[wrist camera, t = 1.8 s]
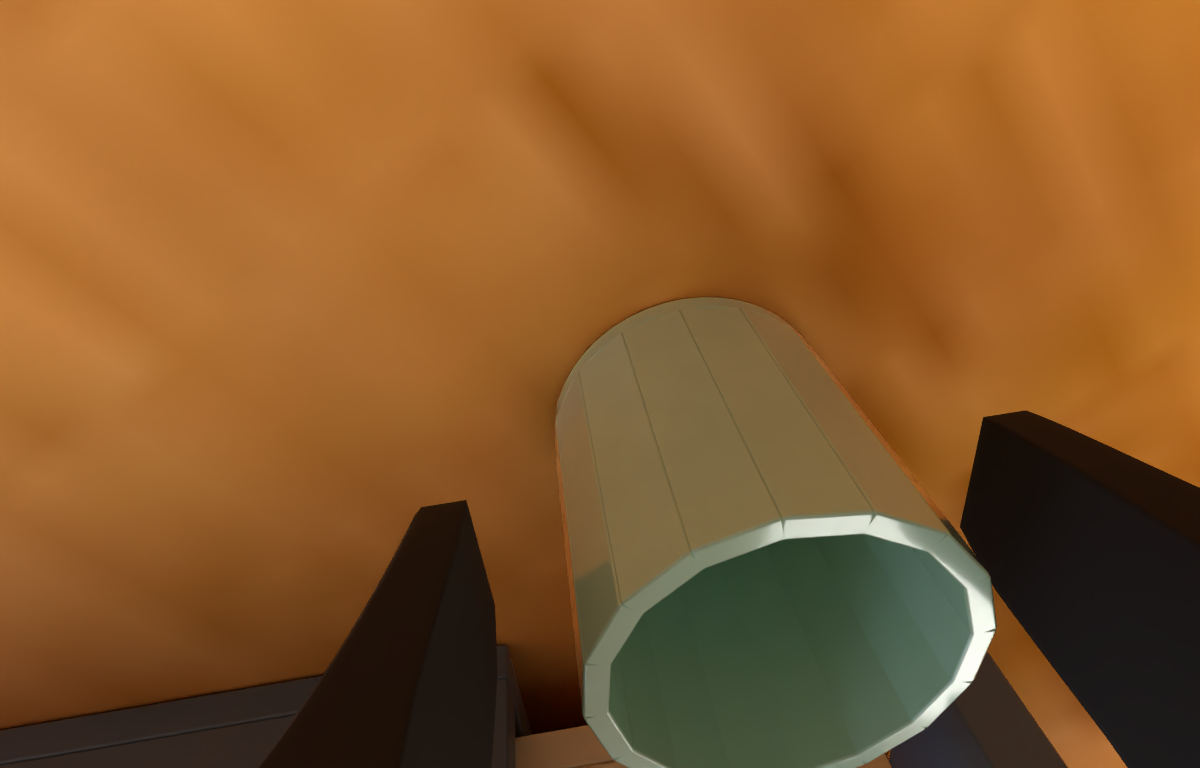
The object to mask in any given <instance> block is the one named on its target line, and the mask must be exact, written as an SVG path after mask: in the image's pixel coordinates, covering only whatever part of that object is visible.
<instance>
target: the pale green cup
mask: <svg viewBox="0 0 1200 768" xmlns="http://www.w3.org/2000/svg"><path fill="white" fill-rule="evenodd" d="M554 431H555V442H556V468H557V477H558V487H559V497H560V506H561V516H562V525H563V535H564V544H565V554H566V564H567V573H568V583H569V592H570V602H571V612H572V621H573V631H574V640H575V650H576V660H577V669H578V679H579V688H580V698H581V707H582V715H583V718H584V720H585V721H586V723H587V724H588V726H589V727H590V728H591V730H592V731H593V733H594V734H595V736H596V737H597V738H598V740H599V741H600V743H601V744H602V746H603V747H604V748H605V750H606V751H607V753H608V754H609V756H610V757H611V758H612V759H614V761H616V762H618V763H620V764H622V765H624V766H626V767H628V768H856V767H859V766H862V765H864V763H869V762H870V761H872V760H874V759H875V758H877V757H879V756H881V755H882V754H884V753H886V752H887V751H889V750H891V749H892V748H894V747H896V746H898V745H899V744H901V743H903V742H904V741H906V740H908V739H909V738H911V737H913V736H915V735H916V734H918V733H920V732H921V731H923V730H925V728H926V727H929V726H930V725H931V724H932V723H933V722H934V721H935V720H936V719H937V718H938V717H939V716H940V715H941V714H942V713H943V712H944V711H945V710H946V709H947V707H948V706H949V705H950V704H951V703H952V702H953V701H954V700H955V699H956V698H957V697H958V696H959V695H960V694H961V693H962V692H963V691H964V690H965V689H966V688H967V687H968V686H969V685H970V684H971V683H972V681H973V680H974V679H975V677H976V674H977V672H978V670H979V668H980V665H981V663H982V661H983V659H984V657H985V654H986V652H987V650H988V648H989V645H990V643H991V641H992V639H993V637H994V634H995V632H996V627H997V624H996V616H995V608H994V600H993V592H992V584H991V577H990V575H989V572H988V571H987V570H986V568H985V567H984V566H983V565H982V563H981V562H980V561H979V559H978V558H977V557H976V556H975V554H974V553H973V552H972V550H971V549H970V548H969V547H968V545H967V544H966V543H965V541H964V540H963V539H962V538H961V536H960V535H959V534H958V533H957V531H956V530H955V529H954V527H953V526H952V525H951V524H950V522H949V521H948V520H947V518H946V517H945V516H944V515H943V513H942V512H941V511H940V509H939V508H938V507H937V506H936V504H935V503H934V502H933V501H932V499H931V498H930V497H929V495H928V494H927V493H926V492H925V490H924V489H923V488H922V486H921V485H920V484H919V483H918V481H917V480H916V479H915V478H914V476H913V475H912V474H911V472H910V471H909V470H908V469H907V467H906V466H905V465H904V463H903V462H902V461H901V460H900V458H899V457H898V456H897V454H896V453H895V452H894V451H893V449H892V448H891V447H890V446H889V444H888V443H887V442H886V440H885V439H884V438H883V437H882V435H881V434H880V433H879V431H878V430H877V429H876V428H875V426H874V425H873V424H872V422H871V421H870V420H869V419H868V417H867V416H866V415H865V414H864V412H863V411H862V410H861V408H860V407H859V406H858V405H857V403H856V402H855V401H854V399H853V398H852V397H851V396H850V394H849V393H848V392H847V390H846V389H845V388H844V387H843V385H842V384H841V383H840V382H839V380H838V379H837V378H836V376H835V375H834V374H833V373H832V371H831V370H830V369H829V367H828V366H827V365H826V364H825V362H824V361H823V360H822V359H821V358H820V357H819V356H818V355H817V353H816V352H815V351H814V350H813V349H812V348H811V347H810V346H809V345H808V343H807V342H806V341H805V340H804V338H803V337H802V336H801V335H800V333H799V332H798V331H797V330H795V329H794V328H793V327H792V326H791V325H790V324H789V323H788V322H786V321H785V320H783V319H782V318H780V317H779V316H777V315H776V314H774V313H772V312H770V311H768V310H766V309H764V308H762V307H759V306H757V305H754V304H750V303H747V302H744V301H740V300H734V299H728V298H717V297H698V298H687V299H680V300H676V301H671V302H666V303H663V304H660V305H657V306H654V307H651V308H648V309H645V310H643V311H641V312H639V313H637V314H635V315H632V316H630V317H628V318H627V319H625V320H623V321H622V322H620V323H619V324H617V325H615V326H614V327H612V328H611V329H610V330H608V331H607V332H606V333H605V334H603V335H602V336H601V337H600V338H599V339H597V340H596V341H595V342H594V343H593V344H592V345H591V346H590V347H589V348H588V350H587V351H586V352H585V353H584V354H583V355H582V356H581V358H580V359H579V360H578V362H577V363H576V365H575V366H574V367H573V369H572V371H571V372H570V374H569V376H568V378H567V380H566V381H565V383H564V386H563V388H562V391H561V394H560V396H559V399H558V404H557V408H556V413H555V426H554Z"/></svg>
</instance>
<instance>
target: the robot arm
mask: <svg viewBox="0 0 1200 768" xmlns="http://www.w3.org/2000/svg"><path fill="white" fill-rule="evenodd" d="M960 528H961V529H962V531H963V533H964V535H965V537H966V539H967V541H968V542H969V544H970V546H971V548H972V550H973V552H974V553H975V555H976V557H977V558H978V559H979V561H980V562H981V563H982V565H983V566H984V567H985V568H986V570H987V571H988V572H989V575H990V577H991V583H992V585H993V586H994V588H995V590H996V591H997V593H998V594H999V595H1000V597H1001V598H1002V600H1003V601H1004V602H1005V604H1006V605H1007V606H1008V608H1009V609H1010V610H1011V612H1012V613H1013V615H1014V616H1015V617H1016V619H1017V620H1018V621H1019V623H1020V624H1021V625H1022V627H1023V628H1024V629H1025V631H1026V632H1027V633H1028V635H1029V636H1030V637H1031V639H1032V640H1033V641H1034V643H1035V644H1036V645H1037V647H1038V648H1039V649H1040V651H1041V652H1042V653H1043V655H1044V656H1045V657H1046V658H1047V660H1048V661H1049V662H1050V664H1051V665H1052V666H1053V668H1054V669H1055V670H1056V672H1057V673H1058V674H1059V676H1060V677H1061V678H1062V680H1063V681H1064V682H1065V683H1066V685H1067V686H1068V687H1069V689H1070V690H1071V691H1072V693H1073V694H1074V695H1075V697H1076V698H1077V699H1078V701H1079V702H1080V703H1081V705H1082V706H1083V707H1084V708H1085V710H1086V711H1087V712H1088V714H1089V715H1090V716H1091V718H1092V719H1093V720H1094V722H1095V723H1096V724H1097V726H1098V727H1099V728H1100V730H1101V731H1102V732H1103V734H1104V735H1105V736H1106V738H1107V739H1108V740H1109V742H1110V743H1111V745H1112V746H1113V747H1114V749H1115V750H1116V752H1117V753H1118V755H1119V756H1120V757H1121V759H1122V760H1123V762H1124V763H1125V765H1126V766H1127V767H1128V768H1200V488H1199V487H1197V486H1194V485H1192V484H1190V483H1188V482H1186V481H1183V480H1181V479H1179V478H1177V477H1175V476H1172V475H1170V474H1168V473H1166V472H1164V471H1161V470H1159V469H1157V468H1155V467H1153V466H1151V465H1148V464H1146V463H1144V462H1142V461H1140V460H1138V459H1135V458H1133V457H1131V456H1129V455H1127V454H1125V453H1122V452H1120V451H1118V450H1116V449H1114V448H1112V447H1109V446H1107V445H1105V444H1103V443H1101V442H1099V441H1096V440H1094V439H1092V438H1090V437H1088V436H1085V435H1083V434H1081V433H1079V432H1077V431H1074V430H1072V429H1070V428H1068V427H1065V426H1063V425H1061V424H1058V423H1056V422H1054V421H1051V420H1049V419H1047V418H1044V417H1042V416H1039V415H1036V414H1034V413H1031V412H1029V411H1019V412H1013V413H1007V414H1001V415H994V416H988V417H983V421H982V426H981V430H980V435H979V440H978V444H977V449H976V454H975V459H974V463H973V468H972V473H971V477H970V482H969V487H968V492H967V496H966V501H965V506H964V510H963V515H962V520H961V525H960ZM497 679H498V670H497V642H496V621H495V604H494V600H493V596H492V593H491V589H490V585H489V582H488V578H487V574H486V571H485V567H484V563H483V560H482V556H481V552H480V549H479V545H478V541H477V538H476V534H475V531H474V527H473V523H472V520H471V516H470V512H469V509H468V505H467V501H466V500H464V501H458V502H452V503H445V504H439V505H433V506H427V507H421V508H420V510H419V511H418V512H417V513H416V514H415V516H414V518H413V520H412V522H411V524H410V526H409V528H408V530H407V532H406V534H405V536H404V537H403V539H402V541H401V543H400V545H399V547H398V549H397V551H396V553H395V555H394V557H393V558H392V560H391V562H390V564H389V566H388V568H387V569H386V571H385V573H384V575H383V577H382V578H381V580H380V582H379V584H378V586H377V588H376V589H375V591H374V593H373V595H372V596H371V598H370V600H369V601H368V603H367V605H366V606H365V608H364V610H363V611H362V613H361V615H360V616H359V618H358V620H357V622H356V623H355V625H354V627H353V628H352V630H351V632H350V633H349V635H348V637H347V638H346V640H345V642H344V643H343V645H342V646H341V648H340V650H339V651H338V653H337V654H336V656H335V657H334V659H333V660H332V662H331V663H330V665H329V667H328V668H327V670H326V671H325V673H324V674H323V676H322V677H321V679H320V680H319V682H318V683H317V685H316V686H315V688H314V689H313V691H312V692H311V694H310V695H309V697H308V698H307V700H306V701H305V703H304V704H303V706H302V707H301V709H300V710H299V712H298V713H297V715H296V716H295V717H294V719H293V720H292V722H291V723H290V724H289V726H288V727H287V729H286V730H285V731H284V733H283V734H282V736H281V737H280V738H279V740H278V741H277V743H276V744H275V745H274V747H273V748H272V749H271V751H270V752H269V753H268V755H267V756H266V758H265V759H264V760H263V762H262V763H261V764H260V765H259V767H258V768H492V755H493V740H494V726H495V710H496V695H497Z"/></svg>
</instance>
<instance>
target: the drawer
mask: <svg viewBox="0 0 1200 768" xmlns="http://www.w3.org/2000/svg"><path fill="white" fill-rule="evenodd" d="M515 761H516V768H628V767H626V766H624V765H622V764H620V763H618V762H616V761H614V759H612V758H611V757H610V756H609V754H608V753H607V751H606V750H605V748H604V747H603V746H602V744H601V743H600V741H599V740H598V738H597V737H596V736H595V734H594V733H593V731H592V730H591V728H590V727H589V726H588V725H586V726H580V727H574V728H568V729H563V730H557V731H551V732H546V733H540V734H534V735H528V736H523V737H517V738H515ZM856 768H1068V767H1067V766H1066V764H1065V763H1064V761H1063V760H1062V759H1061V757H1060V756H1059V754H1058V753H1057V751H1056V750H1055V748H1054V747H1053V746H1052V744H1051V743H1050V741H1049V740H1048V738H1047V737H1046V735H1045V734H1044V733H1043V731H1042V730H1041V728H1040V727H1039V725H1038V724H1037V722H1036V721H1035V719H1034V718H1033V717H1032V715H1031V714H1030V712H1029V711H1028V709H1027V708H1026V706H1025V705H1024V704H1023V702H1022V701H1021V699H1020V698H1019V696H1018V695H1017V693H1016V692H1015V691H1014V689H1013V688H1012V686H1011V685H1010V683H1009V682H1008V680H1007V679H1006V678H1005V676H1004V675H1003V673H1002V672H1001V670H1000V669H999V667H998V666H997V665H996V663H995V662H994V660H993V659H992V657H991V656H990V654H989V653H988V652H986V654H985V657H984V659H983V661H982V663H981V665H980V668H979V670H978V672H977V674H976V677H975V679H974V680H973V681H972V683H971V684H970V685H969V686H968V687H967V688H966V689H965V690H964V691H963V692H962V693H961V694H960V695H959V696H958V697H957V698H956V699H955V700H954V701H953V702H952V703H951V704H950V705H949V706H948V707H947V709H946V710H945V711H944V712H943V713H942V714H941V715H940V716H939V717H938V718H937V719H936V720H935V721H934V722H933V723H932V724H931V725H930V726H929V727H926V728H925V730H923V731H921V732H920V733H918V734H916V735H915V736H913V737H911V738H909V739H908V740H906V741H904V742H903V743H901V744H899V745H898V746H896V747H894V748H892V749H891V752H890V758H889V761H888V758H887V756H886V754H885V753H884V754H882V755H881V756H879V757H877V758H875V759H874V760H872V761H870V762H869V763H864V765H862V766H859V767H856Z"/></svg>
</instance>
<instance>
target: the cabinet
mask: <svg viewBox="0 0 1200 768" xmlns="http://www.w3.org/2000/svg"><path fill="white" fill-rule="evenodd" d="M497 670H498V679H497V695H496V710H495V726H494V740H493V755H492V768H516V761H515V738H517V737H523V736H528V735H532V733H531V730H530V726H529V722H528V719H527V715H526V711H525V708H524V704H523V700H522V697H521V693H520V689H519V685H518V682H517V678H516V674H515V671H514V667H513V663H512V660H511V656H510V652H509V649H508V646H507V645H500V646H497ZM321 677H322V676H317V677H311V678H306V679H300V680H294V681H288V682H282V683H276V684H270V685H264V686H258V687H253V688H247V689H241V690H235V691H229V692H223V693H217V694H211V695H205V696H200V697H194V698H188V699H182V700H176V701H170V702H164V703H158V704H152V705H147V706H141V707H135V708H129V709H123V710H117V711H111V712H105V713H99V714H94V715H88V716H82V717H76V718H70V719H64V720H58V721H52V722H46V723H41V724H35V725H29V726H23V727H17V728H11V729H5V730H0V768H258V767H259V765H260V764H261V763H262V762H263V760H264V759H265V758H266V756H267V755H268V753H269V752H270V751H271V749H272V748H273V747H274V745H275V744H276V743H277V741H278V740H279V738H280V737H281V736H282V734H283V733H284V731H285V730H286V729H287V727H288V726H289V724H290V723H291V722H292V720H293V719H294V717H295V716H296V715H297V713H298V712H299V710H300V709H301V707H302V706H303V704H304V703H305V701H306V700H307V698H308V697H309V695H310V694H311V692H312V691H313V689H314V688H315V686H316V685H317V683H318V682H319V680H320V679H321Z"/></svg>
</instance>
